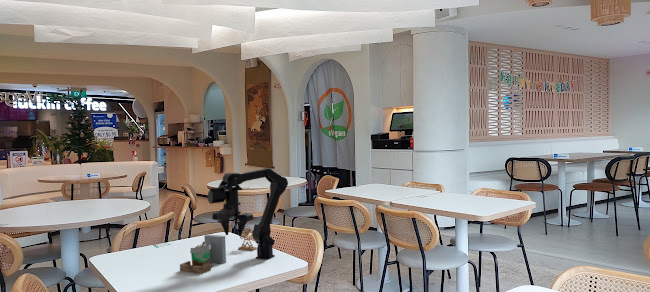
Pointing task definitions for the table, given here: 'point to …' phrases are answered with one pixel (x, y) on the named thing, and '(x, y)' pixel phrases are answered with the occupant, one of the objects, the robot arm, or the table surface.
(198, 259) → the food container
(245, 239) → the lattice stand
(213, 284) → the table surface
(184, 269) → the frame
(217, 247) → the sliding gate
